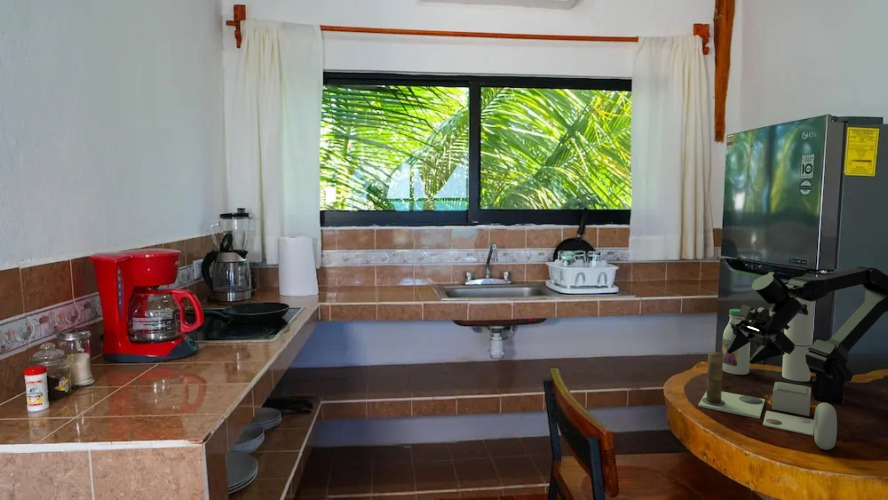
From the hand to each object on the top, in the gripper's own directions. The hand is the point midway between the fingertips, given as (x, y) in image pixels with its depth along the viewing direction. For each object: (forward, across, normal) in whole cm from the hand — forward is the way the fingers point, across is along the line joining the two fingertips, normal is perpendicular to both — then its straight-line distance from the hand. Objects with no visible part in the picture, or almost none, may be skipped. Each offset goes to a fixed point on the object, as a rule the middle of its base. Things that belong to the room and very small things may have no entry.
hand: (738, 357), depth 139 cm
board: (+10, 0, +8) cm, 13 cm away
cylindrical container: (-12, -18, +31) cm, 38 cm away
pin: (+13, 0, +3) cm, 14 cm away
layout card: (+6, +14, +12) cm, 19 cm away
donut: (+8, +26, +10) cm, 29 cm away
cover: (+1, +4, +17) cm, 18 cm away
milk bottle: (-2, -25, +21) cm, 32 cm away
